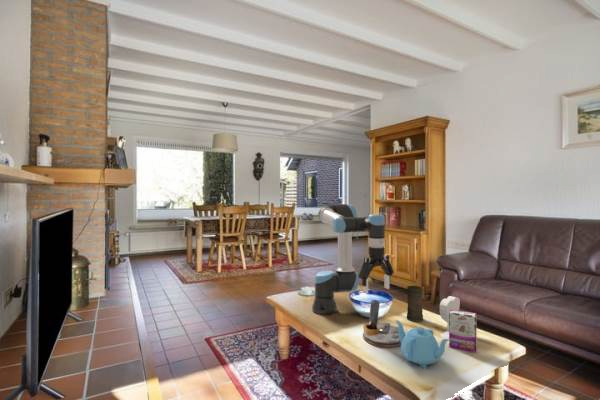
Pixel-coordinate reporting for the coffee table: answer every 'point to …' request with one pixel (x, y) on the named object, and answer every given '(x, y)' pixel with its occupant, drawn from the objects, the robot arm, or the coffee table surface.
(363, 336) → the nut base
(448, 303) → the heart sculpture
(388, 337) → the lugged metal disc
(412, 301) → the container
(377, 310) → the steel pin
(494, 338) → the coffee table surface
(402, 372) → the coffee table surface
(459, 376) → the coffee table surface
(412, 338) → the teapot
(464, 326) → the candy bar box
